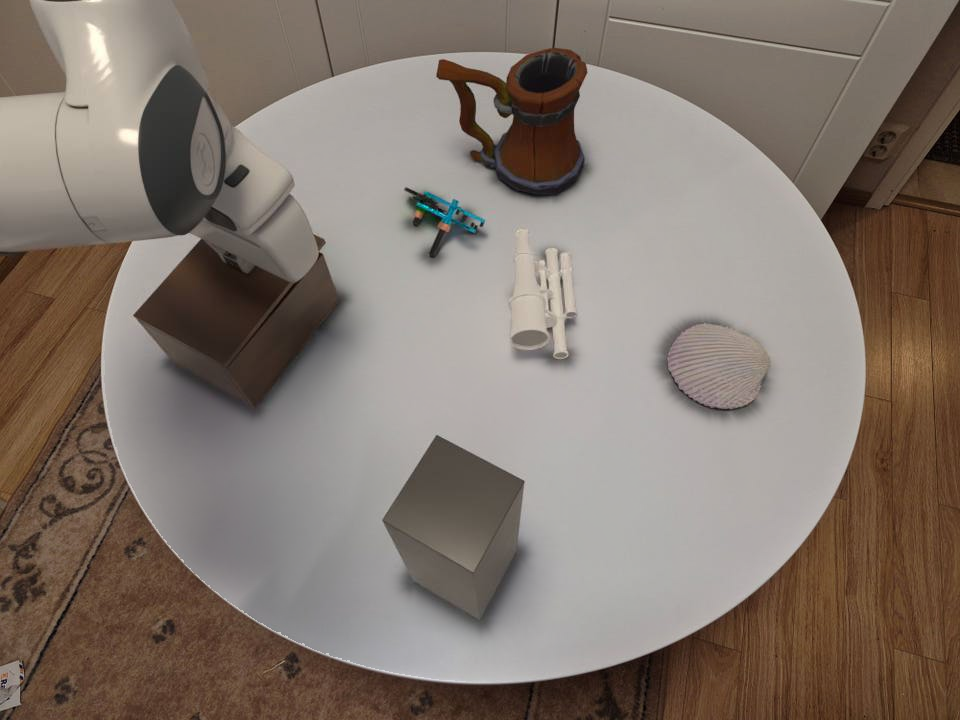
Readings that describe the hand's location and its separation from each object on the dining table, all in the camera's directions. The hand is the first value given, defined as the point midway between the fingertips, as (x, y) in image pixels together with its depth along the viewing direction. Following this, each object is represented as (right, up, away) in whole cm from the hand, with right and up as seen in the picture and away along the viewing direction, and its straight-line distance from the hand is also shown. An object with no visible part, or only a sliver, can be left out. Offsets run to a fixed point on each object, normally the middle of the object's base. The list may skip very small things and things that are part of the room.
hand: (241, 263), depth 68 cm
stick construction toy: (+18, +6, +15) cm, 24 cm away
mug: (+28, +16, +20) cm, 38 cm away
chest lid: (-1, -2, 0) cm, 2 cm away
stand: (+22, -29, -5) cm, 37 cm away
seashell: (+49, -11, +5) cm, 50 cm away
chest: (-1, -6, +8) cm, 10 cm away
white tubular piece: (+31, -4, +9) cm, 32 cm away
